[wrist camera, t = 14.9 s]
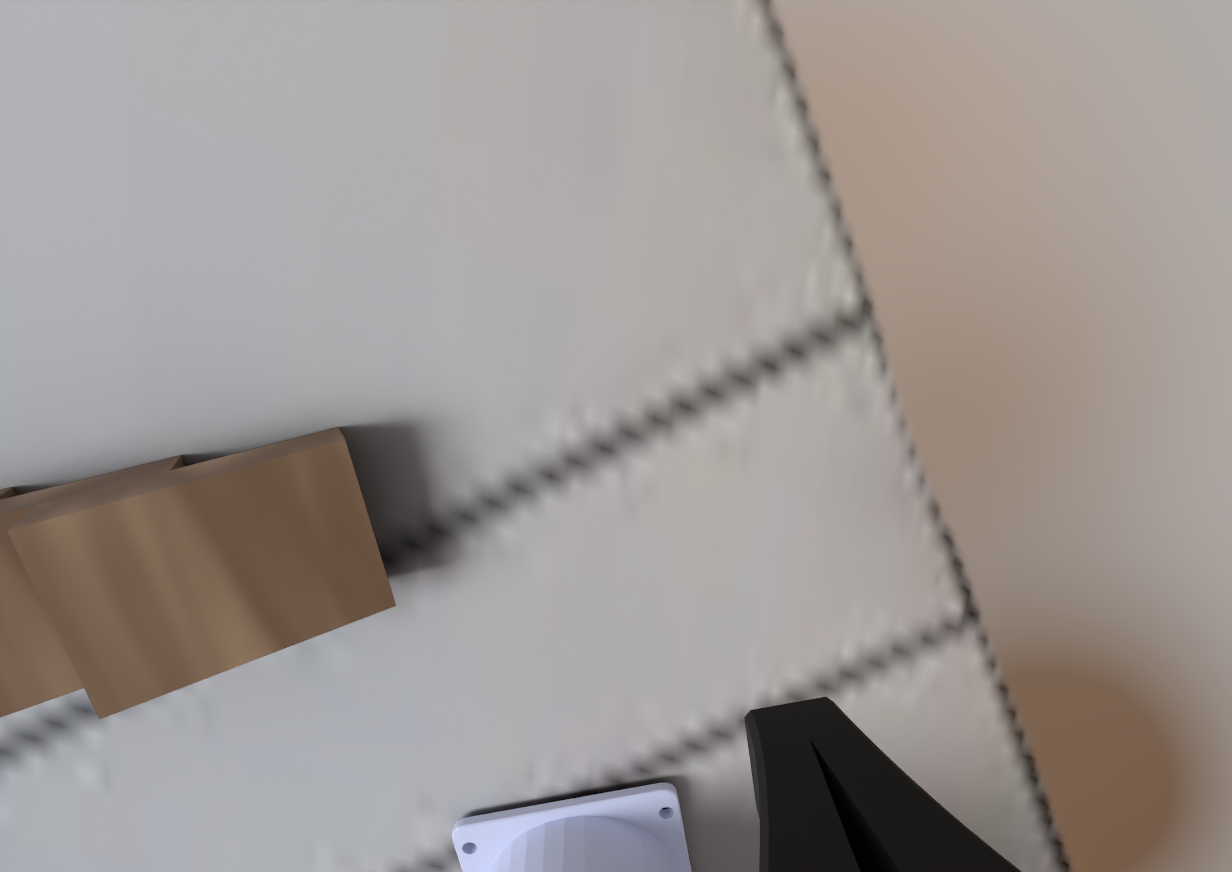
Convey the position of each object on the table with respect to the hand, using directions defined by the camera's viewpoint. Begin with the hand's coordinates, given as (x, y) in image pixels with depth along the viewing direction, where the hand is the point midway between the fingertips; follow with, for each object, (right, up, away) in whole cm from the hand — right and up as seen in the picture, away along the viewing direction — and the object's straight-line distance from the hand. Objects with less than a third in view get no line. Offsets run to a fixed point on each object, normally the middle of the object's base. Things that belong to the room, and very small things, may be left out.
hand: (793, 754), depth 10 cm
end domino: (-10, +3, +8) cm, 13 cm away
